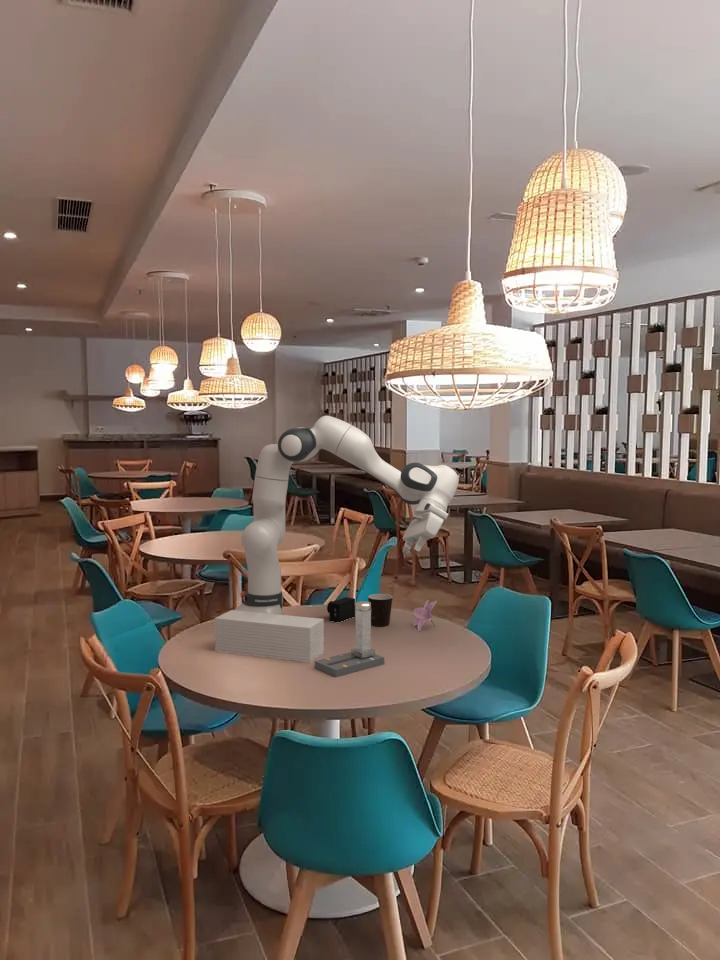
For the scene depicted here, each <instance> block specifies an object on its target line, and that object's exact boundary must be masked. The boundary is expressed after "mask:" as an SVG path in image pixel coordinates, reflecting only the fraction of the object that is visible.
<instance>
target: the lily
mask: <svg viewBox="0 0 720 960" xmlns="http://www.w3.org/2000/svg"><path fill="white" fill-rule="evenodd" d="M429 602H430V601H429V599H427V600H426V601H425V603H424V605H423V607H415V608H414V609H413V614H414V616H415V617H416V619H415V621H414V622H413V624H412V627H415V626H417V632H419V631H420V632H421V630H422V628H423V626H424V624H425V622H427V621H428V622H429V621H431V623H432V624H433V626H434V627H436V625H435V623H434V616H433V614H432V613H431V612H432V610H433V608H434V607H435V606H436V604H437V603H438V602H437V600H435V601H432V602H430V603H429Z"/></svg>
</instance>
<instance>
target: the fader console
mask: <svg viewBox="0 0 720 960" xmlns="http://www.w3.org/2000/svg"><path fill="white" fill-rule="evenodd" d="M381 664H382V665H385V656H382V655H379V654H377V653H375V655H374V656H370V657H366V658H359V657H357V656H354V655H351V651H349V652H346V653H342V654H338V655H334V656H329V657H326V658H322V659H317V660H314V668H315V669H316V668H317V670H319V671H321V670H322V671H321V672H323V671H324V672H323V673H325V672H326V673H325V674H328V675H330V676H332V675H333V677H335V678H337V677H341V676H346V675H349V674H352V673H356V672H359V671H363V670H367V669H370V668H374V667H378V665H379V666H381Z"/></svg>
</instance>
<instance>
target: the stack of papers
mask: <svg viewBox="0 0 720 960" xmlns="http://www.w3.org/2000/svg"><path fill="white" fill-rule="evenodd" d="M324 622H325V619H324V618H318V617H306V616H298V615H297V616H296V615H286V614H282V615H278V614H268V613H258V612H248V611H238V610H235V609H231V610H229V611H227V612H224V613H222V614H221V615H219V616H216V617H214V630H215V631H214V642H215V643H214V645H215V646H214V647H215V649H214V650H215V652H216V651H220V652H219V653H225V652H227V654H233V653H235V655H241V654H243V655H242V656H250V655H254V656H253V657H258V656H262V657H261V658H266V657H270V658H269V659H276V660H283V659H284V661H291V660H293V662H300V661H302V662H301V663H308V662H311V661H312V662H313V661H315V660H316V659H317V658H319V655H320V654H321V655H323V654H324V653H325V651H324V646H325V643H324V642H325V641H324V640H325V639H324V638H325V635H324V634H325V633H324V631H325V630H324V628H325V626H324V625H325V623H324ZM321 655H320V656H321ZM315 658H316V659H315ZM294 660H295V661H294ZM312 662H311V663H312Z"/></svg>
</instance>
